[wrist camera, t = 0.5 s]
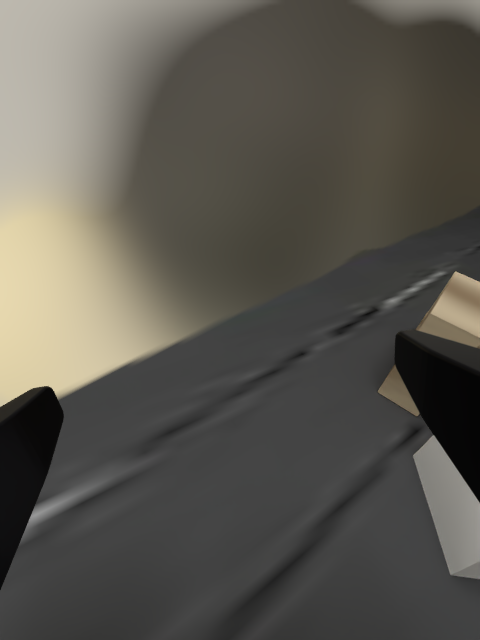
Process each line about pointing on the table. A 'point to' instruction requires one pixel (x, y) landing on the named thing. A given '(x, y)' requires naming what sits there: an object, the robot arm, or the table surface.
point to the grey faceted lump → (451, 509)
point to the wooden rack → (443, 329)
